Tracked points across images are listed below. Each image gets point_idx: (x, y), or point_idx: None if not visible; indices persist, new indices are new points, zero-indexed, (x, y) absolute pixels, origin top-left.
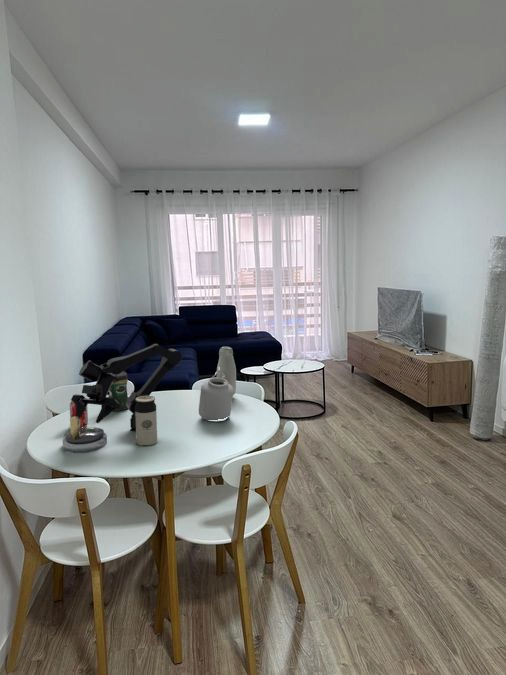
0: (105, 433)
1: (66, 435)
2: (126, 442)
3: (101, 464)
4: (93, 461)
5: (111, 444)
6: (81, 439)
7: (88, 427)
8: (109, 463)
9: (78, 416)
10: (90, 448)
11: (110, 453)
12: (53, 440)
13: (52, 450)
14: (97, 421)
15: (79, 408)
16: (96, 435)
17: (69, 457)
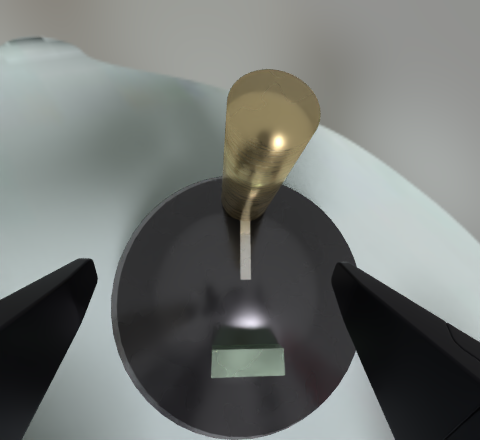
0: (157, 409)
1: (325, 223)
2: None
3: (39, 118)
4: (89, 135)
5: (97, 334)
6: (198, 191)
7: (268, 366)
8: (7, 132)
9: (357, 305)
10: None
11: (48, 224)
12: (420, 288)
13: (329, 188)
14: (71, 267)
15: (465, 385)
16: (143, 276)
17: (212, 146)
